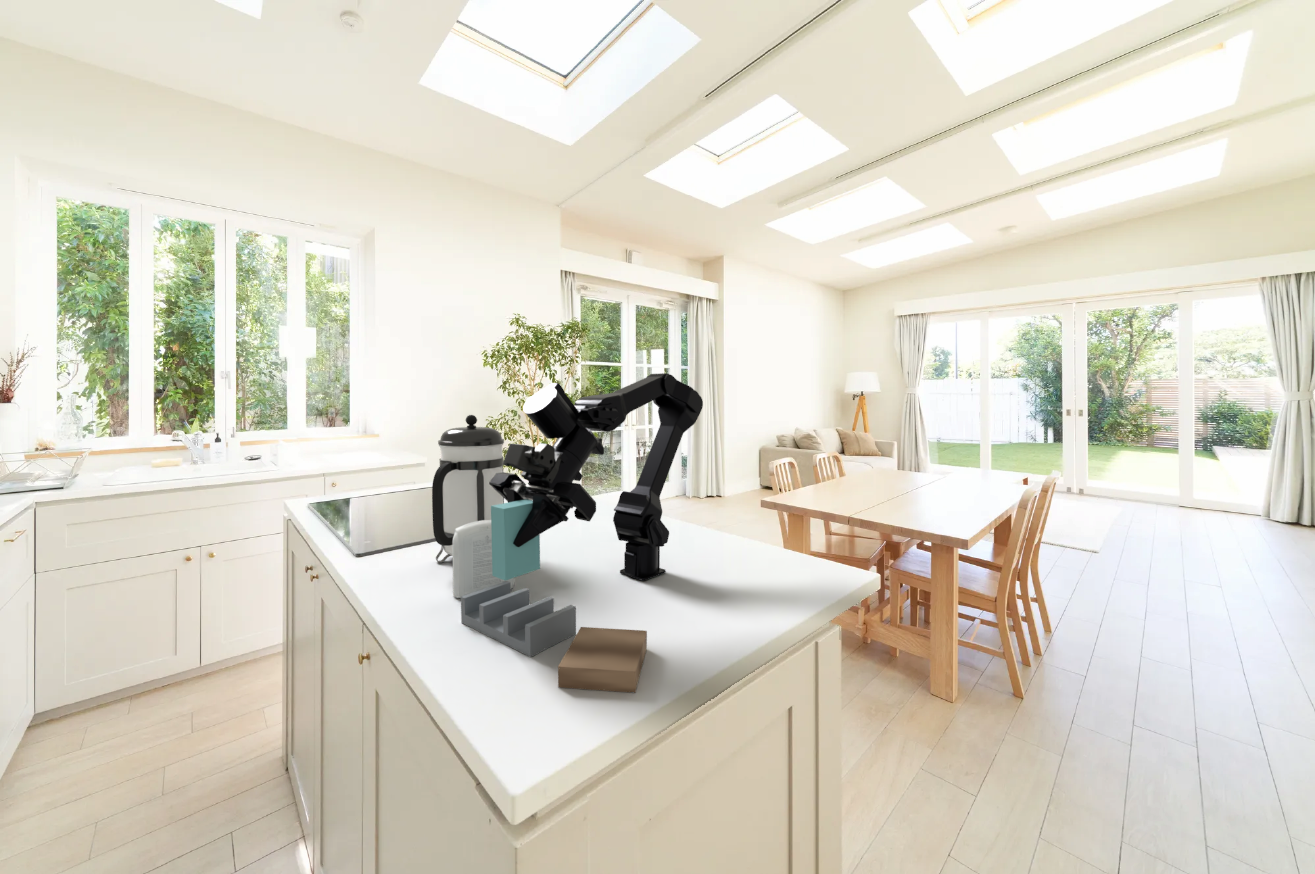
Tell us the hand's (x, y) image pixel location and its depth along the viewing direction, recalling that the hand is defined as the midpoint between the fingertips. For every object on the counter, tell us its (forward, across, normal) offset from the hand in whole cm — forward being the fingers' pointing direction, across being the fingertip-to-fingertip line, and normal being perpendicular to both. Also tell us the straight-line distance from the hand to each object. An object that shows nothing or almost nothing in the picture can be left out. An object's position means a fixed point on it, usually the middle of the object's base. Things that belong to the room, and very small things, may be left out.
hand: (508, 543), depth 69 cm
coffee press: (-1, -34, +20) cm, 39 cm away
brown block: (+8, +17, +10) cm, 22 cm away
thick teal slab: (+2, 0, +4) cm, 5 cm away
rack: (+8, 0, +10) cm, 13 cm away
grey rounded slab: (+5, -16, +14) cm, 22 cm away
